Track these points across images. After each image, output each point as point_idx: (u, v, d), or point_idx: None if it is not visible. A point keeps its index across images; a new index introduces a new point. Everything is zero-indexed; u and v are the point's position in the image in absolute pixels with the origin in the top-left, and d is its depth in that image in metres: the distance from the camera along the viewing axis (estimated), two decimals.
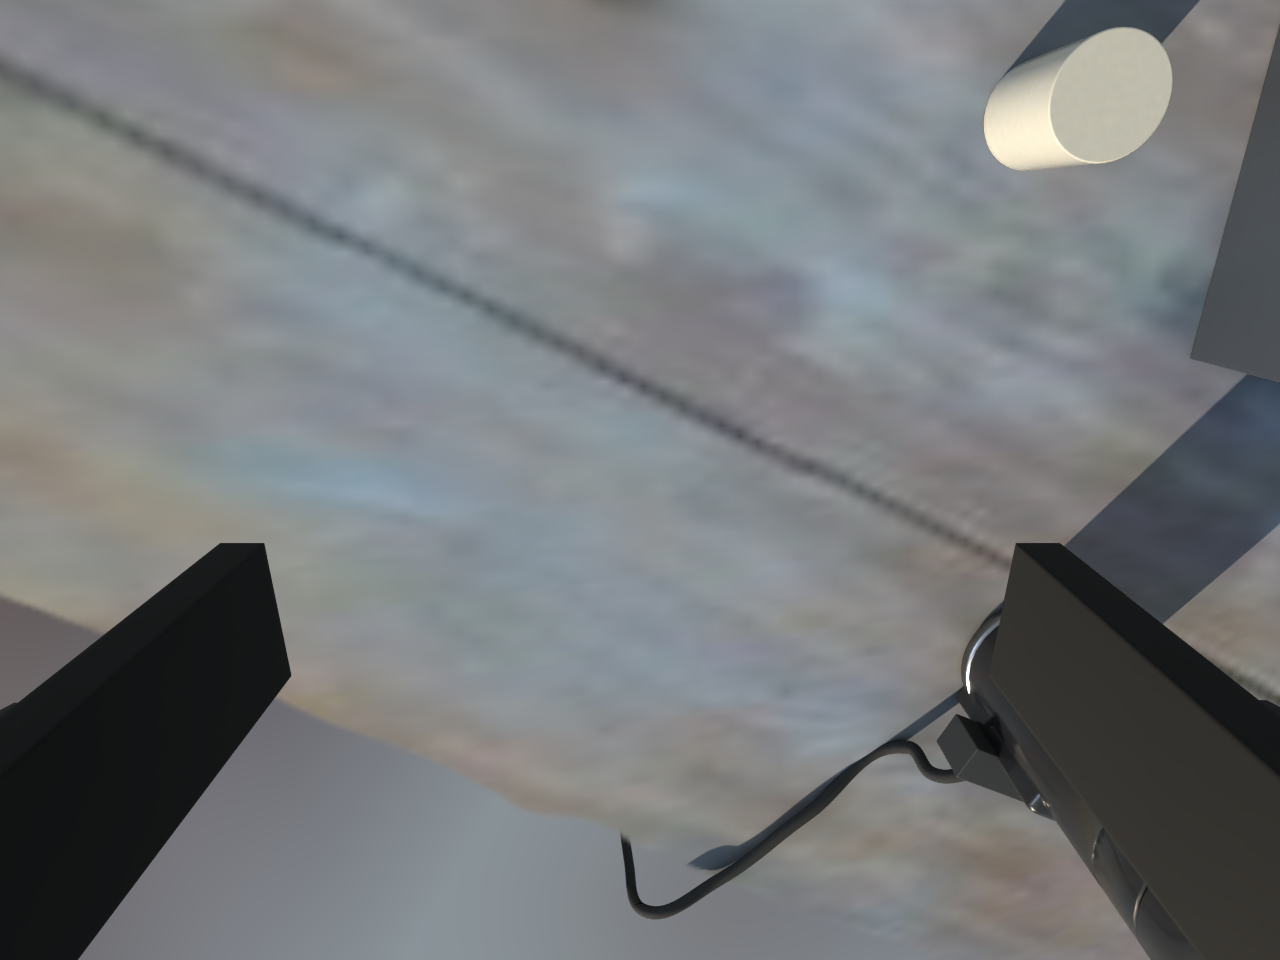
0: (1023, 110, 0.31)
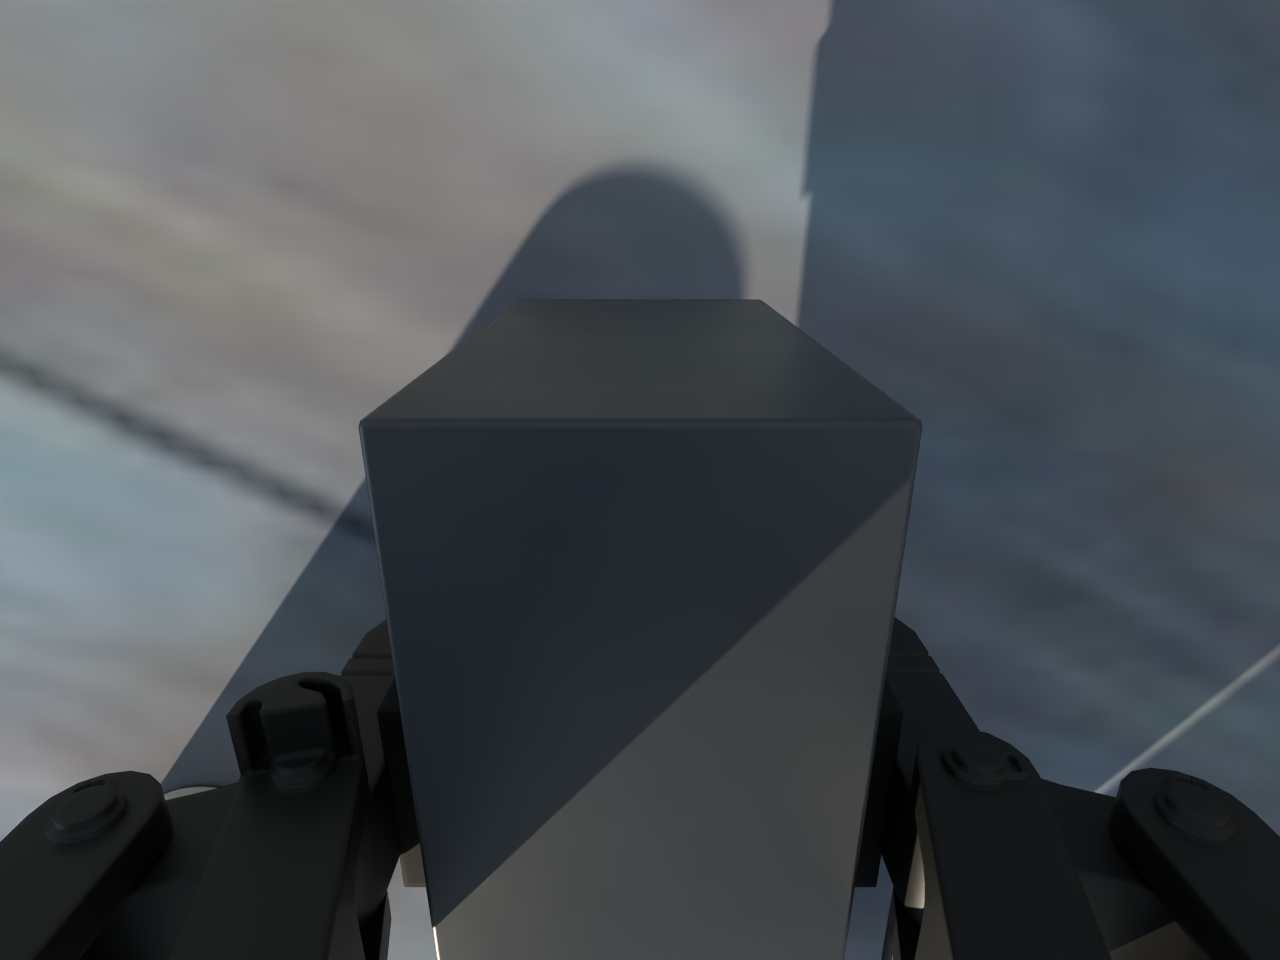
0: None
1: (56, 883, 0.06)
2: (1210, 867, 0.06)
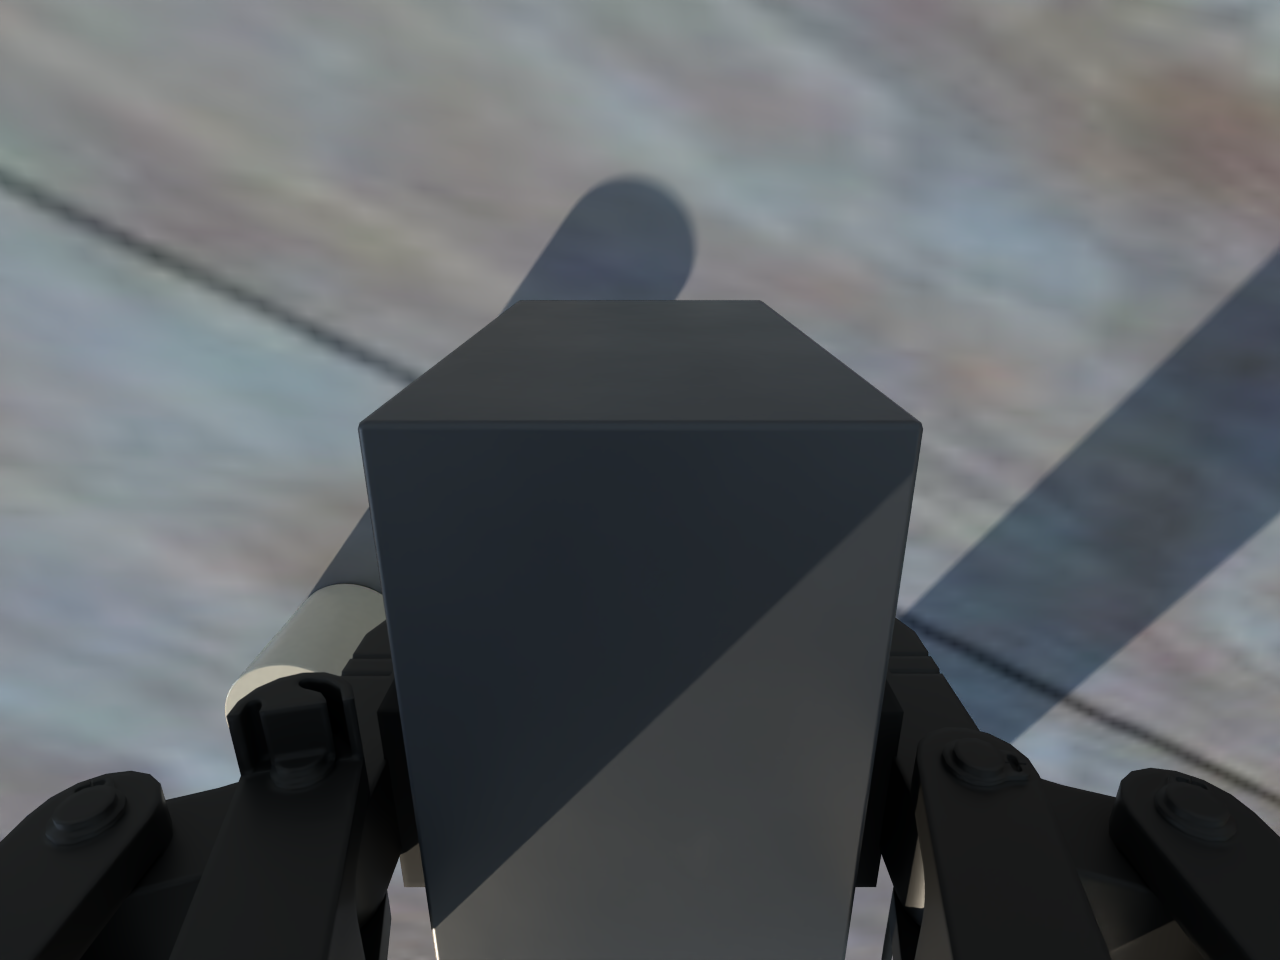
0: None
1: (56, 883, 0.06)
2: (1210, 867, 0.06)
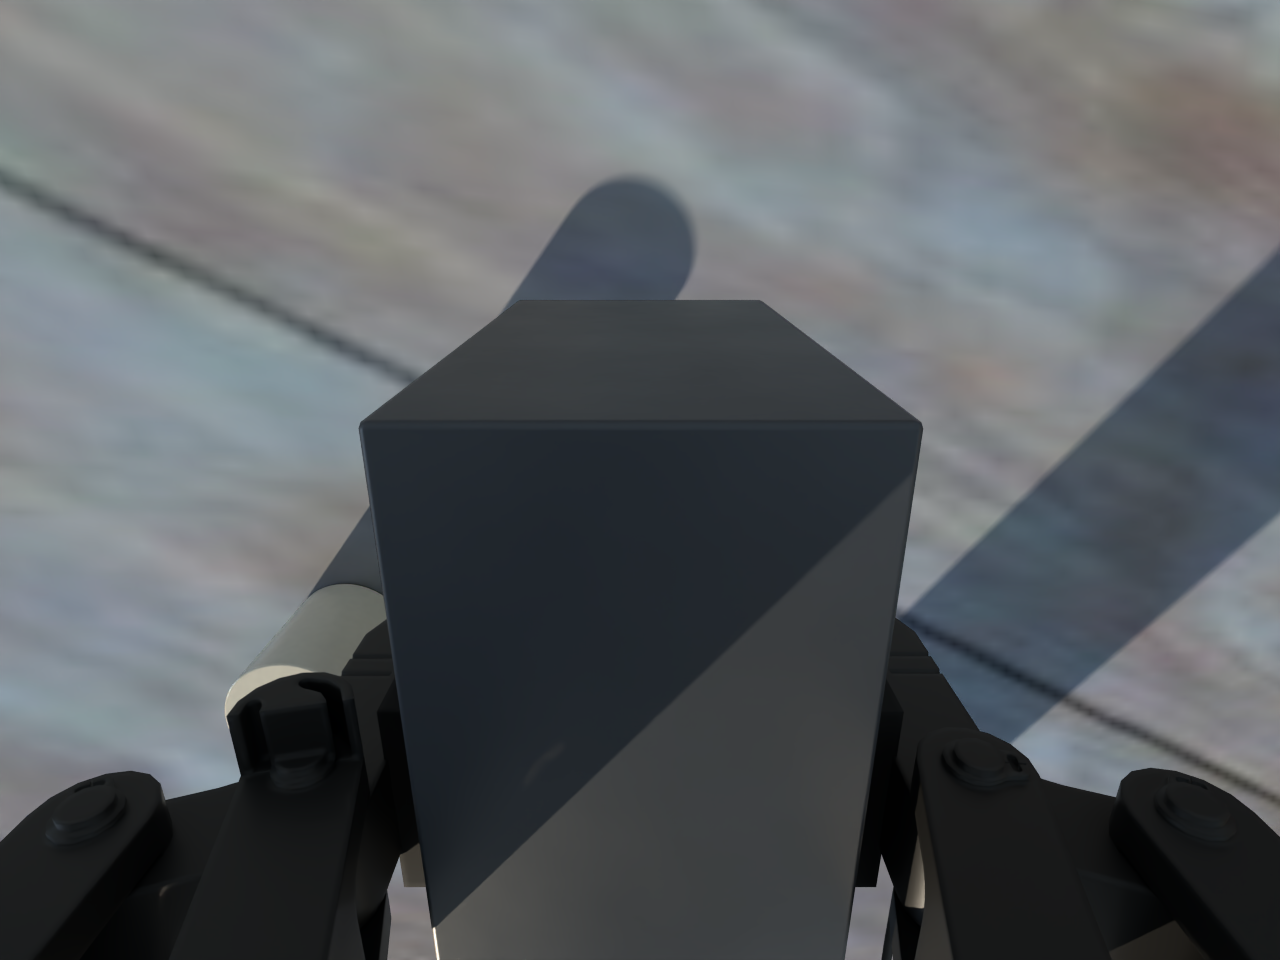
0: None
1: (56, 883, 0.06)
2: (1210, 867, 0.06)
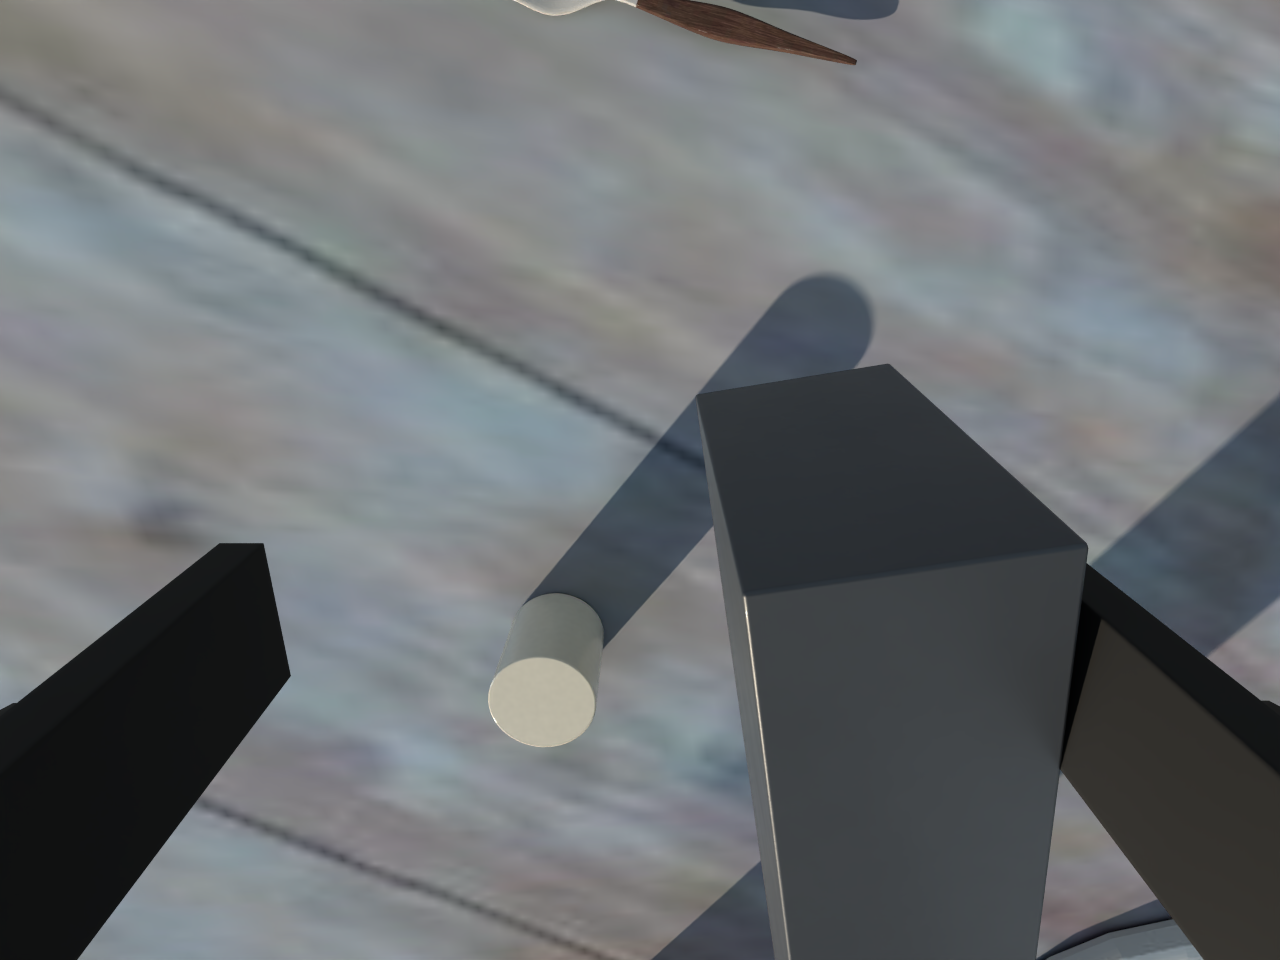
0: None
1: None
2: None
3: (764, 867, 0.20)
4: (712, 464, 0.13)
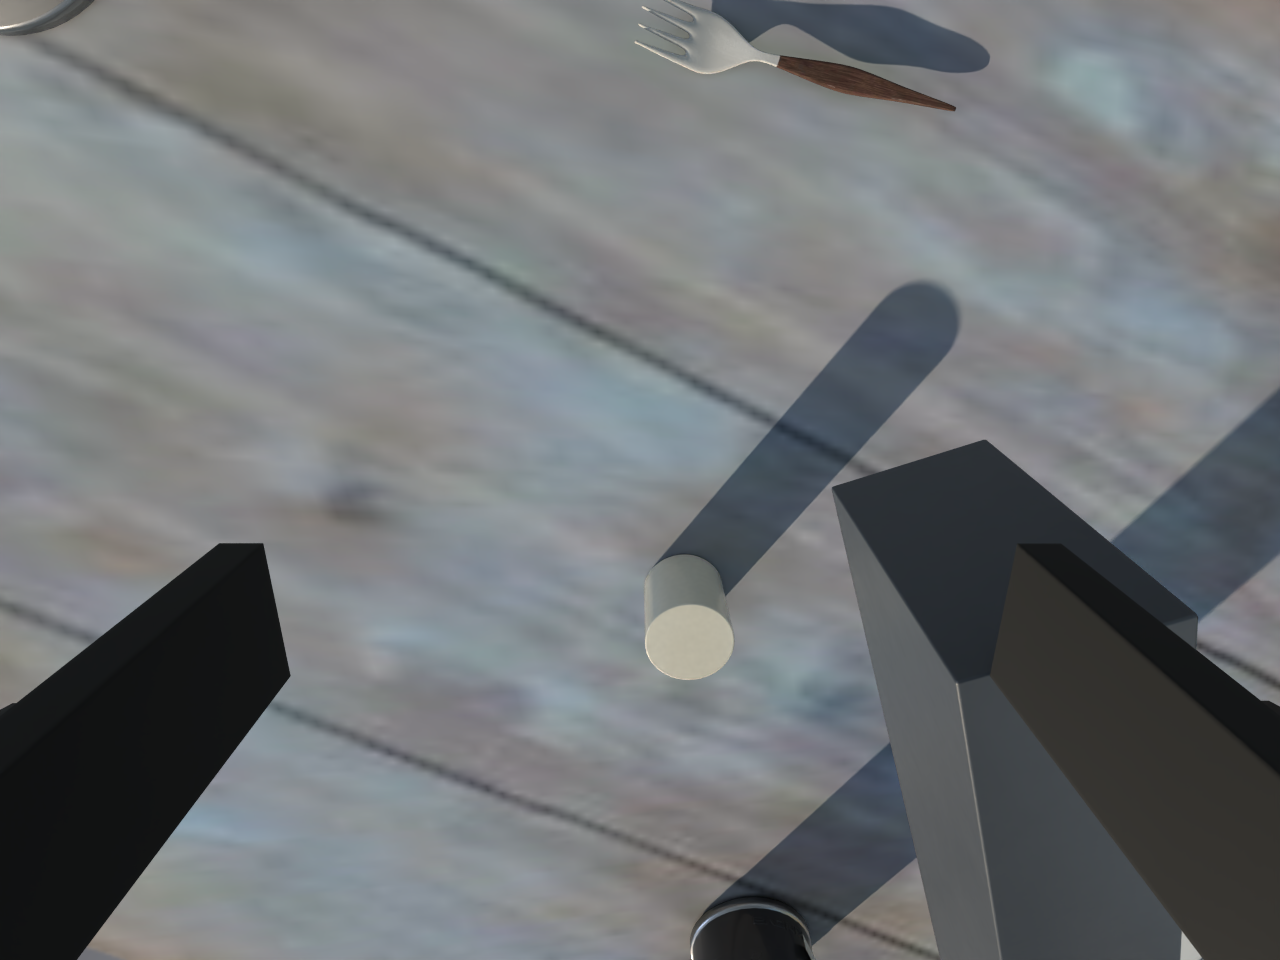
0: None
1: None
2: None
3: (928, 848, 0.24)
4: (879, 561, 0.17)
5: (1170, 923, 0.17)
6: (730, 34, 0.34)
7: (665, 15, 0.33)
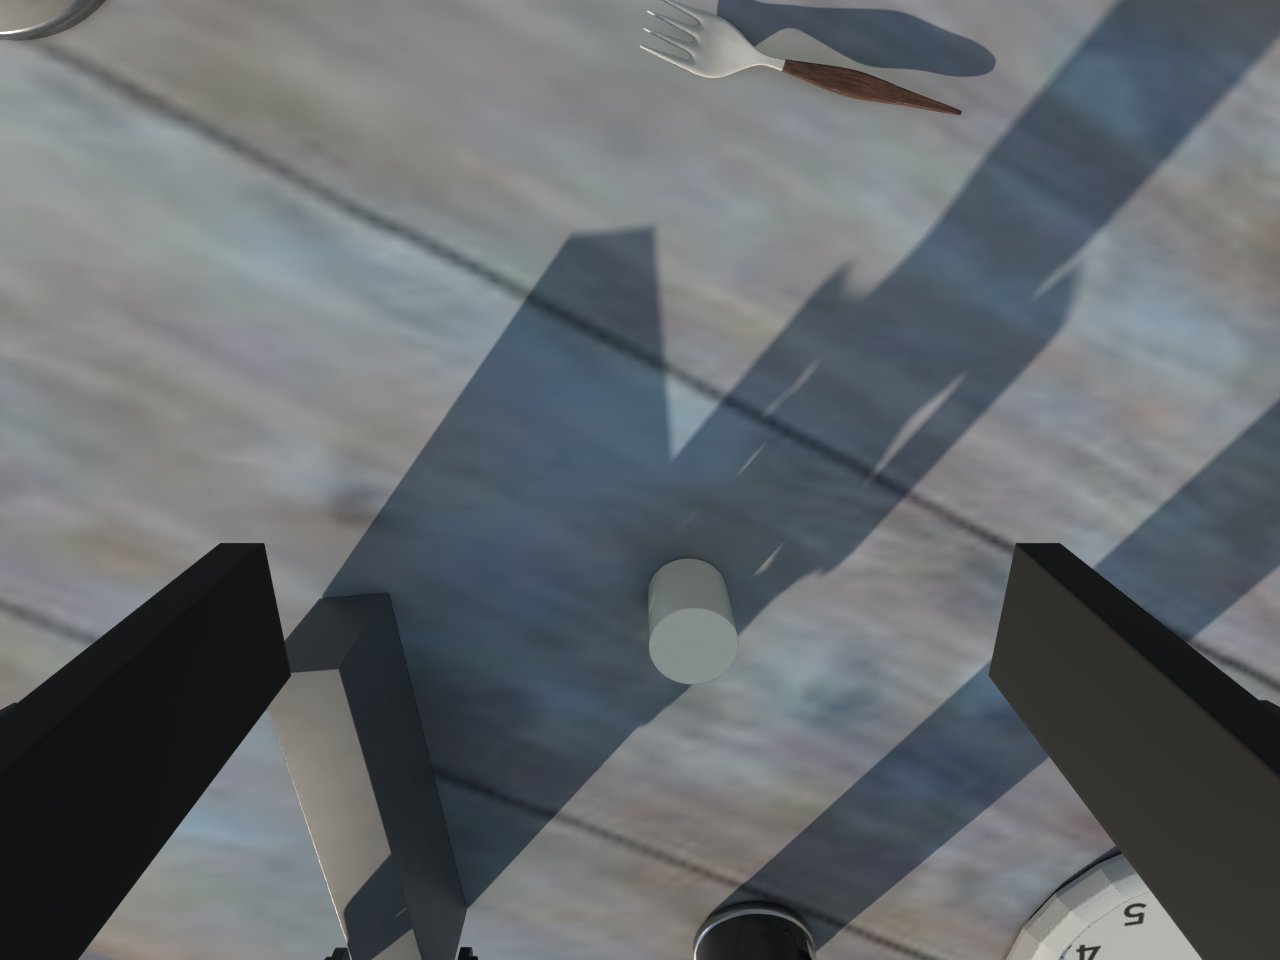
0: None
1: None
2: None
3: None
4: (292, 632, 0.42)
5: (375, 813, 0.41)
6: (735, 38, 0.34)
7: (670, 19, 0.33)
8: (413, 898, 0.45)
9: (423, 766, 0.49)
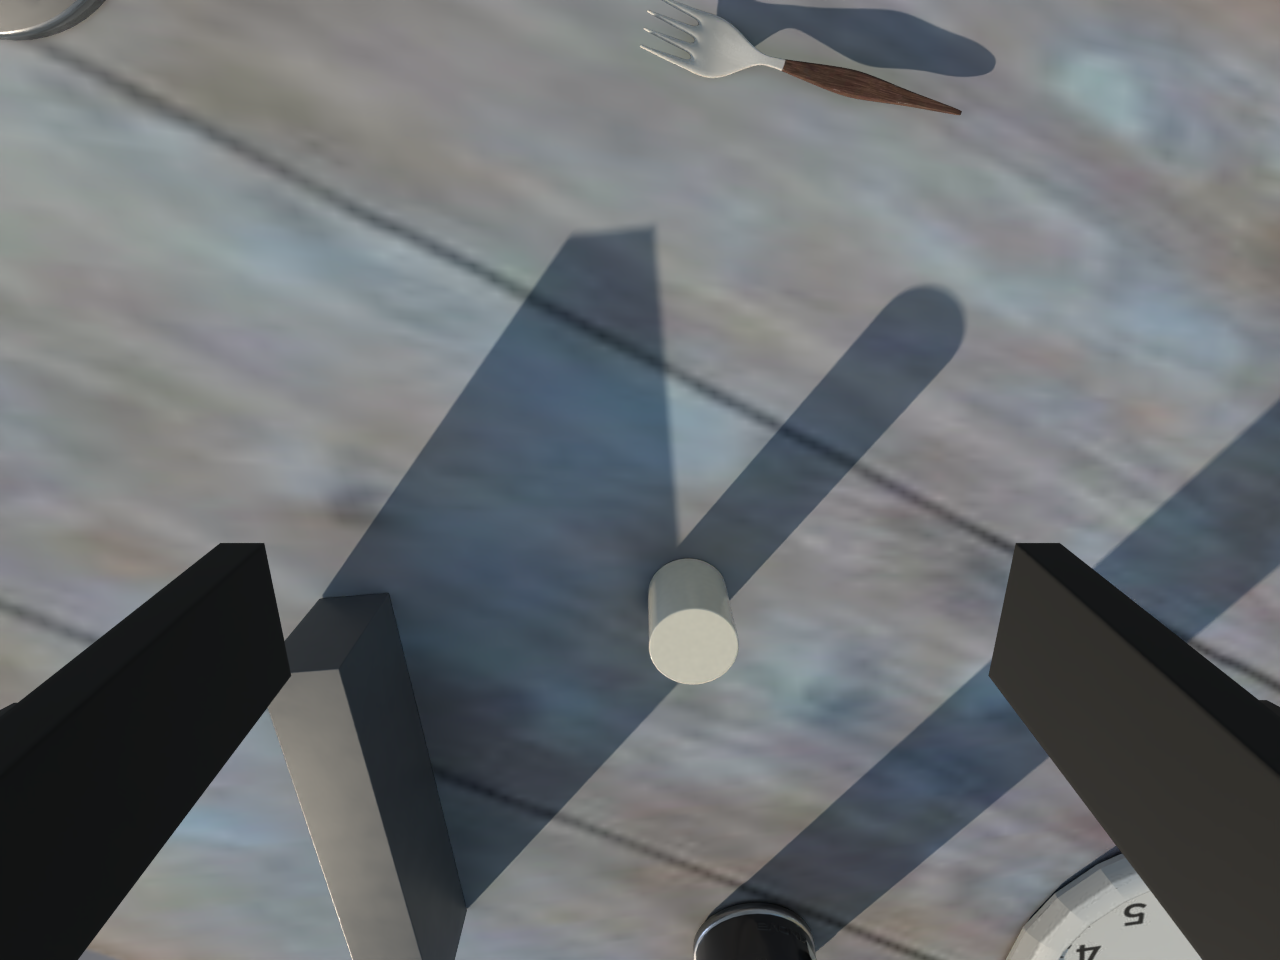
0: None
1: None
2: None
3: None
4: (292, 632, 0.42)
5: (375, 813, 0.41)
6: (735, 38, 0.34)
7: (670, 19, 0.33)
8: (413, 898, 0.45)
9: (423, 766, 0.49)
